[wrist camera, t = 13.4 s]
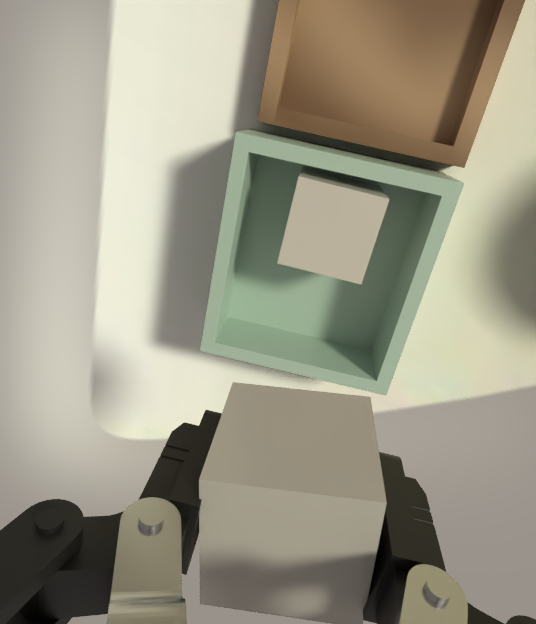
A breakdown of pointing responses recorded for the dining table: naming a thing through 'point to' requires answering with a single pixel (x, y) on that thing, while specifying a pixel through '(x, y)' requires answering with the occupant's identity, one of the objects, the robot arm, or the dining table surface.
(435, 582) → the robot arm
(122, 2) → the dining table surface
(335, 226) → the stone
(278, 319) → the bin
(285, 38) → the tray
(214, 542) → the stone
